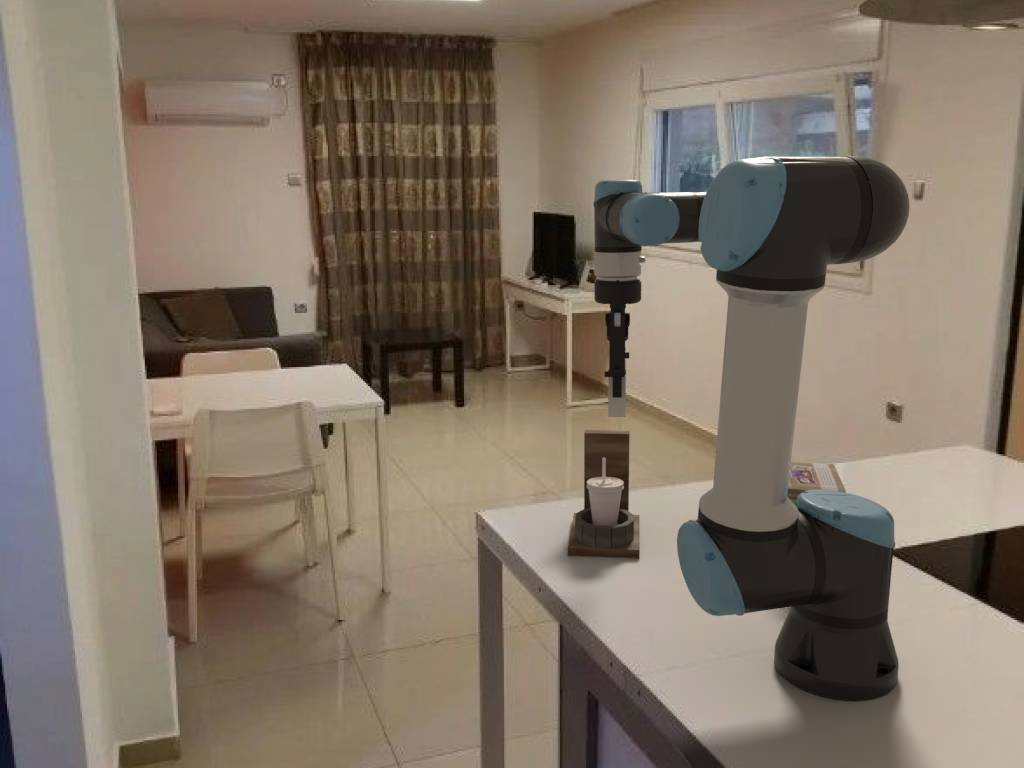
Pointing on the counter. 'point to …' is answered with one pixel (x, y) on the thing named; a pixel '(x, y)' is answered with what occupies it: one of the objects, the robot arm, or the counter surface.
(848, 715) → the counter surface
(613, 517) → the smoothie
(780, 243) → the robot arm
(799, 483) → the tea box
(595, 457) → the cup bracket
